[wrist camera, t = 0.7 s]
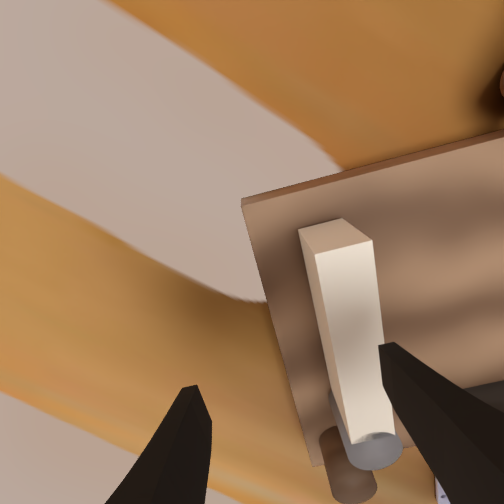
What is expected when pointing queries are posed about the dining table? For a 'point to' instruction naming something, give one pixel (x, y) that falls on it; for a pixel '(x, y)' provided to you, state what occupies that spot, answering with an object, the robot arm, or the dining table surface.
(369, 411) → the folding leg
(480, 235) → the stool seat
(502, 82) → the tin
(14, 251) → the dining table surface
